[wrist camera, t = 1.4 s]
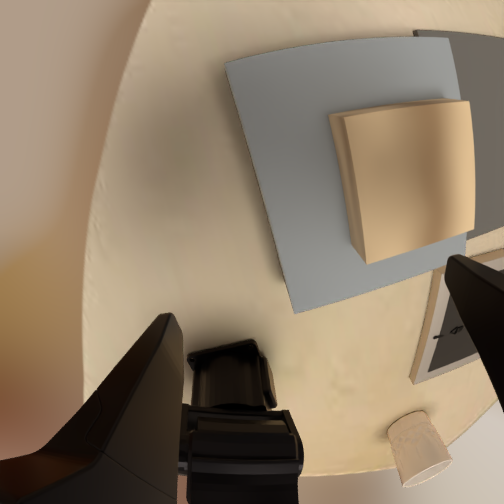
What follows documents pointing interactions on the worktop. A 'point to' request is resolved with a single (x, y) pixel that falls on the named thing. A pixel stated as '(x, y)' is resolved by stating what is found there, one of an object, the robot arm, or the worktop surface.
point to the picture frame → (446, 328)
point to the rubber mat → (482, 118)
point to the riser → (331, 153)
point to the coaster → (406, 174)
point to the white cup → (417, 449)
